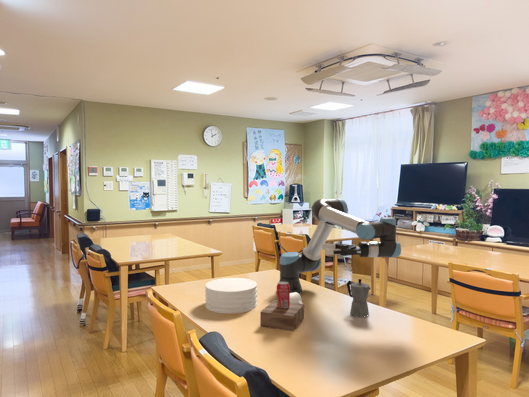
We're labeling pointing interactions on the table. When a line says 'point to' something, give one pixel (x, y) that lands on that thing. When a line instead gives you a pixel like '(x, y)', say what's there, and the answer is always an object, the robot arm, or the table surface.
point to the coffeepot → (359, 298)
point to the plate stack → (231, 295)
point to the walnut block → (282, 316)
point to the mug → (295, 298)
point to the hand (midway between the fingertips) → (324, 249)
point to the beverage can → (283, 295)
